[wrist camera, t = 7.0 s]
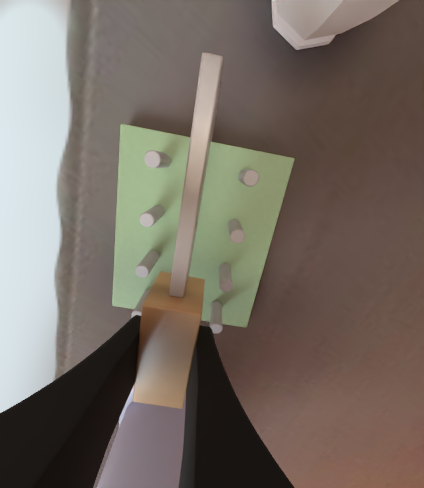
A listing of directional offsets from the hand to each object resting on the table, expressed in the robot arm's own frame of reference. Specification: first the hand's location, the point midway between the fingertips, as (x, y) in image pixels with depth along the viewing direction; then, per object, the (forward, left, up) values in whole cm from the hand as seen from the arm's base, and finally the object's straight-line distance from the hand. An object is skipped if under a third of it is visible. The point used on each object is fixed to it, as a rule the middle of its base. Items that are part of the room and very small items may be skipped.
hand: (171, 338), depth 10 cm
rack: (+3, 0, -6) cm, 7 cm away
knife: (+4, 0, -1) cm, 4 cm away
